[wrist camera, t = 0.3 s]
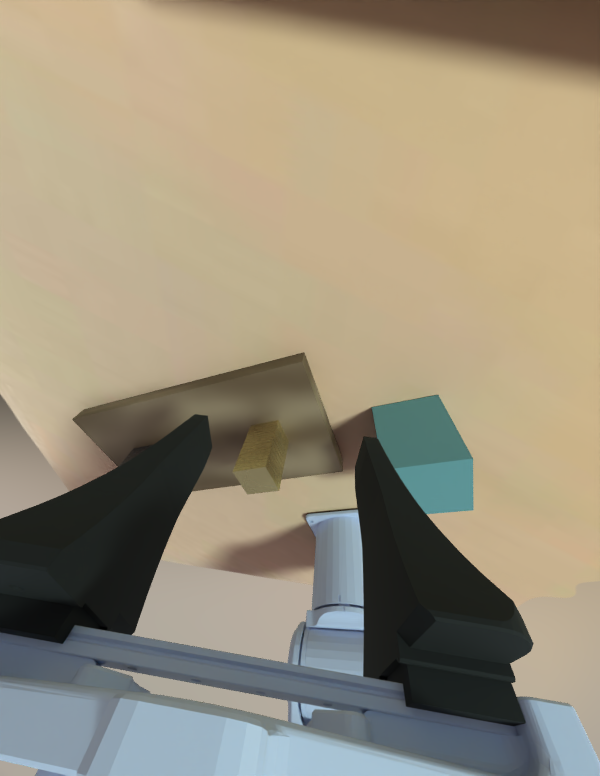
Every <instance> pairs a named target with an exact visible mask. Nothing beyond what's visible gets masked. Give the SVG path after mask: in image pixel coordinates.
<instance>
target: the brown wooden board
mask: <svg viewBox="0 0 600 776" xmlns="http://www.w3.org/2000/svg"><path fill="white" fill-rule="evenodd" d="M195 414H198V415H206V416H208V421H209V428H210V435H211V441H212V450H211V452H210V455H209V458H208V460H207V463H206V465H205V468H204V469H203V471H202V473H201V475H200V477H199V479H198V481H197V483H196V484H195V486H194V488H193V490H192V491H198V490H206V489H213V488H221V487H228V486H236V485H241V484H240V482H239V481H238V479H237V478H236V476H235V475H234V473H233V469H234V467H235V464H236V462H237V459H238V457H239V454H240V451H241V449H242V446H243V444H244V441H245V439H246V436H247V434H248V431H249V429H250V426H251V425H255V424H260V423H266V422H271V421H276V420H279V422H280V424H281V427H282V429H283V431H284V433H285V435H286V437H287V439H288V441H289V444H288V449H287V454H286V459H285V464H284V469H283V474H282V479H289V478H297V477H304V476H312V475H319V474H327V473H335V472H342V471H343V462H342V457H341V454H340V451H339V448H338V445H337V443H336V440H335V437H334V434H333V431H332V429H331V426H330V423H329V420H328V417H327V415H326V412H325V409H324V406H323V403H322V401H321V398H320V395H319V392H318V389H317V387H316V384H315V381H314V378H313V375H312V373H311V370H310V367H309V364H308V362H307V359H306V356H305V353H300V354H296V355H293V356H289V357H285V358H281V359H277V360H273V361H269V362H266V363H262V364H258V365H254V366H250V367H246V368H242V369H239V370H235V371H231V372H227V373H223V374H219V375H216V376H212V377H208V378H204V379H200V380H196V381H192V382H189V383H185V384H181V385H177V386H173V387H169V388H165V389H162V390H158V391H154V392H150V393H146V394H142V395H138V396H135V397H131V398H127V399H123V400H119V401H115V402H112V403H108V404H104V405H100V406H96V407H92V408H88V409H85V410H83V411H82V412H81V413H79V414H78V415H77V416H76V417H74V418H73V419H72V420H73V421H74V422H75V423H76V424H77V425H78V426H79V427H80V428H81V429H82V430H83V431H84V432H85V433H86V434H87V435H88V436H89V437H90V438H91V439H92V440H93V441H94V442H95V443H96V444H97V445H98V446H99V447H100V448H101V449H102V451H103V452H104V453H105V454H106V455H107V456H108V457H109V458H110V459H111V460H112V461H113V462H114V463H115V464H116V465H117V466H119V465H120V464H121V463H122V462H123V460H124V459H125V458H126V457H127V456H128V454H129V453H130V452H131V451H132V450H133V448H138V447H143V446H148V445H153V444H155V443H157V442H158V441H159V440H161V439H162V438H163V437H165V436H166V435H168V434H169V433H170V432H172V431H173V430H174V429H176V428H177V427H178V426H180V425H181V424H182V423H184V422H185V421H186V420H188V419H189V418H190V417H192V416H193V415H195ZM282 479H281V480H282Z"/></svg>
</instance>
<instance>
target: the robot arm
mask: <svg viewBox="0 0 600 776" xmlns="http://www.w3.org/2000/svg"><path fill="white" fill-rule="evenodd" d="M211 450H212V441H211V435H210V428H209V421H208V416H206V415H198V414H195V415H193V416H192V417H190V418H189V419H188V420H186V421H185V422H184V423H182V424H181V425H180V426H178V427H177V428H176V429H174V430H173V431H172V432H170V433H169V434H168V435H166V436H165V437H163V438H162V439H161V440H159V441H158V442H157V443H155V444H154V445H152V446H151V447H149V448H148V449H146V450H145V451H143V452H142V453H140V454H139V455H137V456H136V457H134V458H132V459H131V460H129V461H128V462H126V463H124V464H123V465H121V466H119V467H117V468H115V469H114V470H112V471H110V472H108V473H106V474H105V475H103V476H101V477H99V478H97V479H95V480H93V481H91V482H89V483H87V484H85V485H83V486H81V487H78V488H76V489H74V490H72V491H70V492H67V493H65V494H63V495H61V496H58V497H56V498H54V499H51V500H49V501H46V502H44V503H41V504H39V505H36V506H34V507H31V508H28V509H26V510H23V511H20V512H18V513H15V514H12V515H10V516H7V517H4V518H1V519H0V760H1V761H6V762H11V763H15V764H19V765H23V766H28V767H33V768H37V769H38V771H37V773H36V775H35V776H600V761H599V759H598V757H597V755H596V753H595V751H594V749H593V747H592V745H591V743H590V741H589V738H588V737H587V734H586V732H585V730H584V728H583V726H582V724H581V722H580V720H579V717H578V715H577V713H576V711H575V709H574V708H573V707H572V706H571V705H570V704H568V703H562V702H556V701H550V700H545V699H539V698H533V697H516V694H515V692H514V689H513V687H512V684H511V683H513V682H515V676H514V673H513V671H512V668H511V665H510V663H512V662H514V661H515V660H517V659H519V658H521V657H523V656H525V655H526V654H527V653H529V652H530V651H531V649H532V646H533V642H532V639H531V637H530V635H529V633H528V631H527V628H526V626H525V624H524V621H523V619H522V617H521V615H520V613H519V611H518V610H517V608H516V606H515V604H514V602H513V601H512V600H511V599H510V598H509V597H508V596H507V595H506V594H504V593H503V592H502V591H501V590H500V589H499V588H498V587H496V586H495V585H494V584H493V583H492V582H491V581H490V580H489V579H487V578H486V577H485V576H484V575H483V574H482V573H481V572H480V571H479V570H478V569H477V568H476V567H475V566H474V565H472V564H471V563H470V562H469V561H468V560H467V559H466V558H465V557H464V556H463V555H462V554H461V553H460V552H459V551H458V550H457V548H456V547H455V546H454V545H453V544H452V543H451V542H450V541H449V540H448V539H447V538H446V537H445V536H444V535H443V533H442V532H441V531H440V530H439V529H438V528H437V527H436V525H435V524H434V523H433V522H432V521H431V520H430V518H429V517H428V516H427V515H426V513H425V512H424V511H423V510H422V508H421V507H420V506H419V504H418V503H417V502H416V500H415V499H414V497H413V496H412V495H411V493H410V492H409V490H408V489H407V487H406V486H405V484H404V483H403V481H402V480H401V478H400V476H399V475H398V473H397V472H396V470H395V468H394V467H393V465H392V463H391V462H390V460H389V458H388V456H387V454H386V453H385V451H384V449H383V447H382V445H381V443H380V441H379V440H378V439H377V438H371V437H363V441H362V444H361V448H360V452H359V455H358V459H357V462H356V466H355V491H356V499H357V507H358V510H347V511H336V512H325V513H314V514H307V515H306V520H307V522H308V524H309V526H310V528H311V529H312V531H313V533H314V535H315V537H316V549H315V565H314V582H313V598H312V610H307V616H306V622H301V623H300V624H299V625H298V628H297V629H296V630H295V631H294V634H293V637H292V640H291V644H290V651H289V657H288V663H284V662H279V661H273V660H267V659H261V658H256V657H250V656H244V655H239V654H234V653H228V652H222V651H216V650H211V649H206V648H200V647H195V646H189V645H183V644H178V643H172V642H166V641H161V640H155V639H149V638H144V637H138V636H133V635H132V634H133V633H134V632H135V629H136V626H137V623H138V620H139V617H140V614H141V611H142V609H143V606H144V602H145V600H146V596H147V594H148V591H149V588H150V586H151V583H152V580H153V578H154V575H155V572H156V570H157V567H158V564H159V562H160V559H161V557H162V554H163V552H164V549H165V547H166V544H167V542H168V539H169V537H170V535H171V532H172V530H173V528H174V525H175V523H176V520H177V518H178V516H179V514H180V512H181V510H182V508H183V507H184V505H185V503H186V501H187V499H188V497H189V496H190V494H191V492H192V490H193V488H194V486H195V484H196V483H197V481H198V479H199V477H200V475H201V473H202V471H203V469H204V468H205V465H206V463H207V460H208V458H209V455H210V452H211ZM102 666H104V667H110V668H115V669H120V670H126V671H132V672H137V673H142V674H148V675H153V676H158V677H163V678H169V679H175V680H180V681H185V682H190V683H196V684H202V685H206V686H212V687H217V688H223V689H229V690H234V691H240V692H244V693H249V694H255V695H260V696H266V697H272V698H276V699H282V700H287V701H288V722H287V721H283V720H279V719H275V718H271V717H267V716H263V715H259V714H255V713H250V712H246V711H242V710H237V709H233V708H228V707H224V706H219V705H214V704H209V703H203V702H198V701H193V700H187V699H181V698H175V697H170V696H164V695H157V694H150V692H149V691H148V690H146V689H144V688H142V687H140V686H139V685H138V684H137V683H135V682H134V681H133V677H132V676H129V675H126V674H123V673H119V672H116V671H113V670H110V669H107V668H103V667H102Z"/></svg>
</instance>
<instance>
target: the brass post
mask: <svg viewBox="0 0 600 776" xmlns="http://www.w3.org/2000/svg"><path fill="white" fill-rule="evenodd" d="M288 444H289V441H288V439H287V437H286V435H285V433H284V431H283V429H282V427H281V424H280V422H279V420H276V421H271V422H266V423H260V424H255V425H251V426H250V429H249V431H248V434H247V436H246V439H245V441H244V444H243V446H242V449H241V451H240V454H239V457H238V459H237V462H236V464H235V467H234V469H233V473H234V475H235V476H236V478H237V479H238V481H239V482H240V484H241V485H242V487H243V488H244V490H245V491H246V493H247V494H255V493H263V492H272V491H279V489H280V484H281V479H282V474H283V469H284V464H285V459H286V454H287V449H288Z"/></svg>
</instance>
